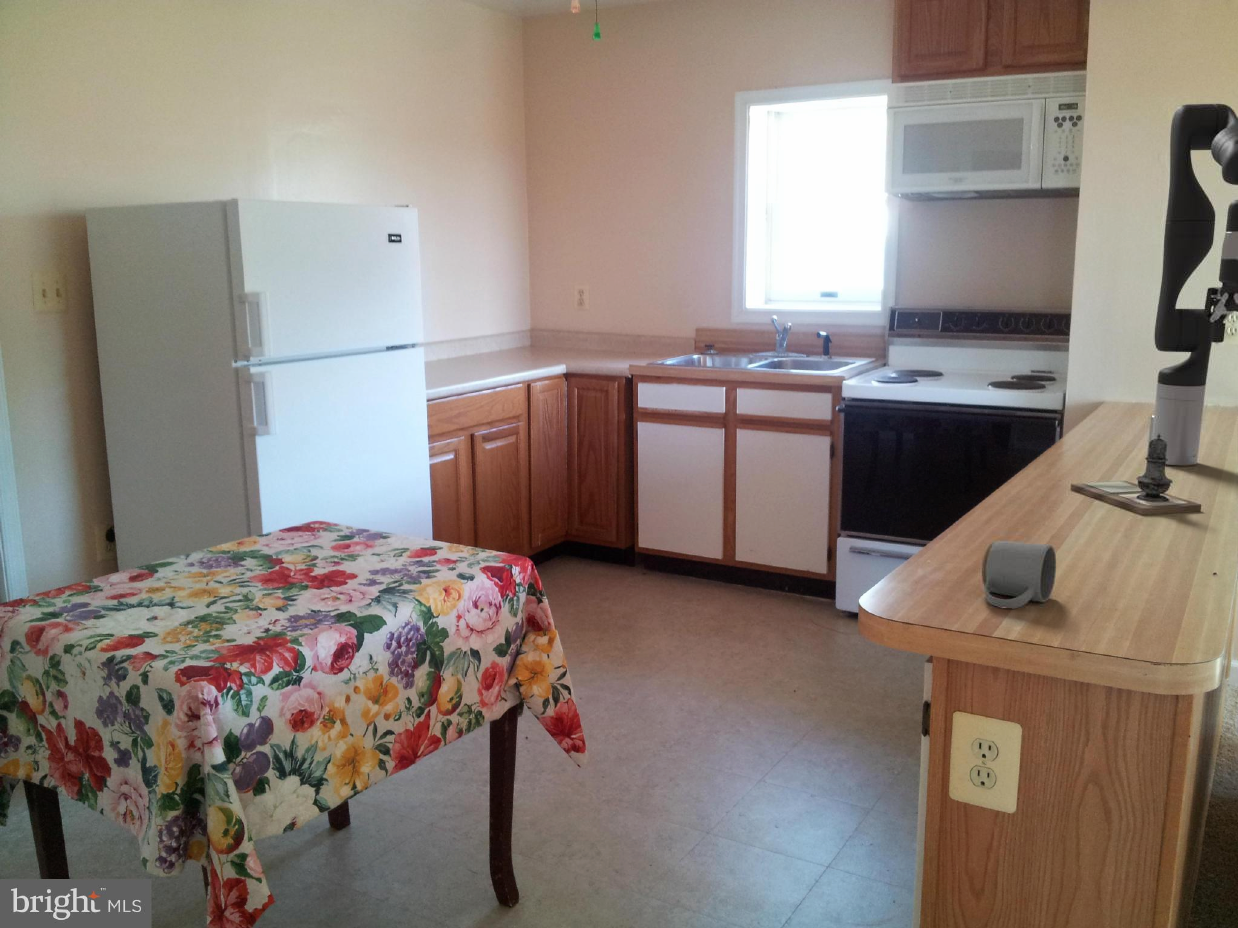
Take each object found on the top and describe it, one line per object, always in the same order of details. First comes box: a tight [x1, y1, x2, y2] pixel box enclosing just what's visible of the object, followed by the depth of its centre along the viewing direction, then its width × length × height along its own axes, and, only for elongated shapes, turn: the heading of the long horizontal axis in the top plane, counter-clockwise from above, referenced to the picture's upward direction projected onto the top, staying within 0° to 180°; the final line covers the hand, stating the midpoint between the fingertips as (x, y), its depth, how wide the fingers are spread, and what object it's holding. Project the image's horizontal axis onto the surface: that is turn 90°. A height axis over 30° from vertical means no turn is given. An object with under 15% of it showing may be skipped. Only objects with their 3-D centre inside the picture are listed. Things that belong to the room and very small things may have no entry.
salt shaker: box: [1135, 434, 1174, 502], centre depth 185 cm, size 6×6×12 cm
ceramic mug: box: [981, 540, 1057, 609], centre depth 138 cm, size 11×8×8 cm
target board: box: [1070, 480, 1202, 516], centre depth 191 cm, size 20×12×1 cm, turn 12°
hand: (1234, 344), depth 194 cm, fingers open, 8 cm apart
